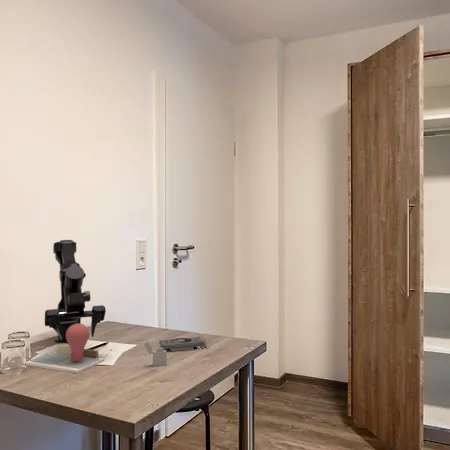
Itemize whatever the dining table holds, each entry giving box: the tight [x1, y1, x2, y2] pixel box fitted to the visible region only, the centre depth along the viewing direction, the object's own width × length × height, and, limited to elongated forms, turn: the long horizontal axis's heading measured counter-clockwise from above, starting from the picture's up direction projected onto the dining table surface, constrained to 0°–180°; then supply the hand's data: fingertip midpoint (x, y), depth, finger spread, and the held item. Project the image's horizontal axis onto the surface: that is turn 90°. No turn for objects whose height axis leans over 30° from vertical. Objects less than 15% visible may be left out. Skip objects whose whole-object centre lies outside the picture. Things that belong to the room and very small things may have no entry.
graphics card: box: [159, 333, 211, 352], centre depth 164 cm, size 17×4×12 cm
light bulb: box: [66, 323, 90, 362], centre depth 143 cm, size 7×7×12 cm
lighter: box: [143, 339, 167, 367], centre depth 143 cm, size 7×2×8 cm, turn 105°
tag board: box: [25, 345, 105, 374], centre depth 145 cm, size 21×13×3 cm, turn 67°
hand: (77, 337), depth 143 cm, fingers open, 9 cm apart
